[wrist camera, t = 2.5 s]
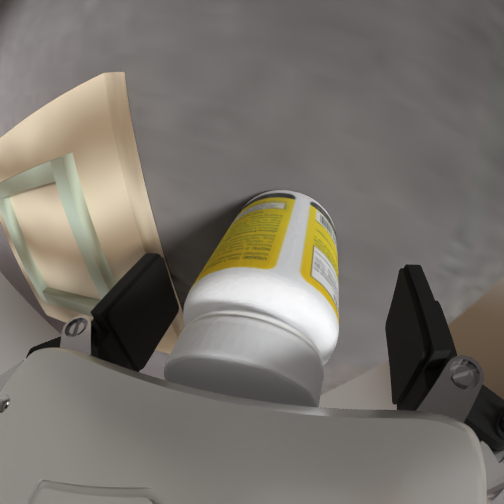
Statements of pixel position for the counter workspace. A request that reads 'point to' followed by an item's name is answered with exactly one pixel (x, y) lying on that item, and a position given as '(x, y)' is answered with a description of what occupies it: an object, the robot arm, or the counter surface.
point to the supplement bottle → (264, 306)
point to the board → (78, 200)
